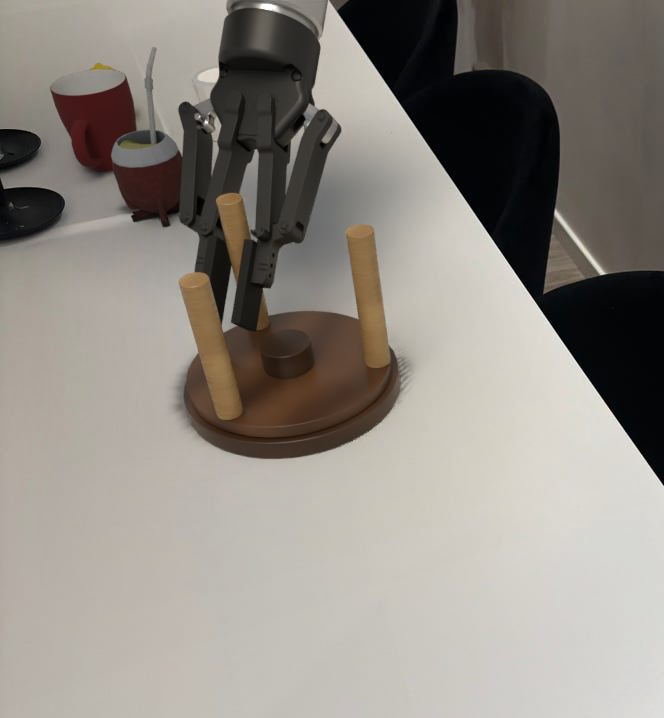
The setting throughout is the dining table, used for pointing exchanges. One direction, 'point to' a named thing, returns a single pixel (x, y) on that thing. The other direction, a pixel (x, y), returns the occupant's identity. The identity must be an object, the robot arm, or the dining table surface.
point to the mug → (95, 113)
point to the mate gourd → (148, 166)
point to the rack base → (304, 442)
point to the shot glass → (207, 90)
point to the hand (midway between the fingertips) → (226, 324)
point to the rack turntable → (287, 349)
